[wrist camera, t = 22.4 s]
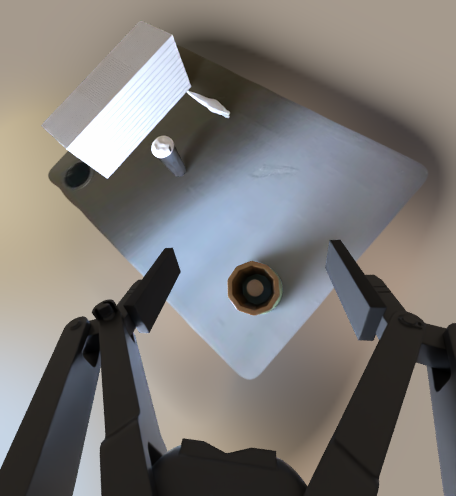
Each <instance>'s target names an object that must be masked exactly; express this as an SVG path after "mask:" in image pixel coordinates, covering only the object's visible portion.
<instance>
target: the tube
mask: <svg viewBox="0 0 456 496" xmlns="http://www.w3.org/2000/svg"><path fill="white" fill-rule="evenodd" d="M254 274H259V275H262V276H265V277H266V278H267V279H268V281H269V282H270V283H271V289H272V294H271V295H270V297H269V298H268V300H267V301H266V302H263V303H260V304H255V303H252V302H249V301H248V300H247V299H246V297H245V296H244V295H243V283H244V282H245V280H246V279H247V277H249V276H252V275H254ZM279 295H280V290H279V279H278V277H277V276H276V275H275V273H274V272H273V271H272V270H271V269H270V267H269V266H267V265H266V264H262V263H258V262H254V261H250V262H247V263H244V264H242V265H239V266H237V267H236V268H235V269H234V271H233V272H232V274H231V275H230V277H229V278H228V297H229V299H230V300H231V302H232V303H233V304H234V306H235V307H236V308H237V310H238V311H241V312H244V313H247V314H250V315H253V316H254V315H258V314H261V313H264V312H267V311H270V310H271V309H272V307H273V306H274V304H275V302H276V301H277V299H278V298H279Z"/></svg>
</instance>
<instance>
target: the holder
mask: <svg viewBox="0 0 456 496" xmlns="http://www.w3.org/2000/svg"><path fill="white" fill-rule="evenodd" d="M270 269H271V268H270ZM271 270H272V269H271ZM272 271H273V270H272ZM273 272H274V271H273ZM274 273H275V275H276V276H277V277H278V279H279V290H280V295H279V298H278V299H277V301H276V302H275V304H274V306H273V307H272V309H271V310H270V311H272V310H273V309H274V308H275V307H276V306H277V305H278V304H279V302H280V300H281V297H282V291H283V290H282V283H281V280H280V278H279V276H278V275H277V274H276V272H274ZM271 294H272V289H271V283H270V282H269V281H268V279H267V278H266V277H265V276H262V275H259V274H254V275H252V276H249V277H247V279H246V280H245V282H244V283H243V295H244V296H245V297H246V299H247V300H248V301H249V302H252V303H255V304H260V303H263V302H266V301H267V300H268V298H269V297H270V295H271ZM270 311H267V312H264V313H261V314H265V313H268V312H270Z"/></svg>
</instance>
